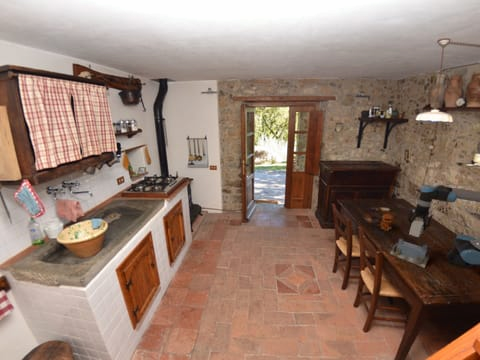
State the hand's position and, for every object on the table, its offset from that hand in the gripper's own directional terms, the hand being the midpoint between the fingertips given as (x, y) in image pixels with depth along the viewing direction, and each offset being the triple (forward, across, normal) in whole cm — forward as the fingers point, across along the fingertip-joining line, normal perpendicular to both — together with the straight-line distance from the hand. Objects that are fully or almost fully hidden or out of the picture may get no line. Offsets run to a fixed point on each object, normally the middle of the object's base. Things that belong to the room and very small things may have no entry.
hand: (416, 231), depth 171 cm
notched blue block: (+22, 0, 0) cm, 22 cm away
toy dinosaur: (+24, +27, -34) cm, 49 cm away
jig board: (+23, 0, 0) cm, 23 cm away
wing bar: (+1, 0, 0) cm, 1 cm away
